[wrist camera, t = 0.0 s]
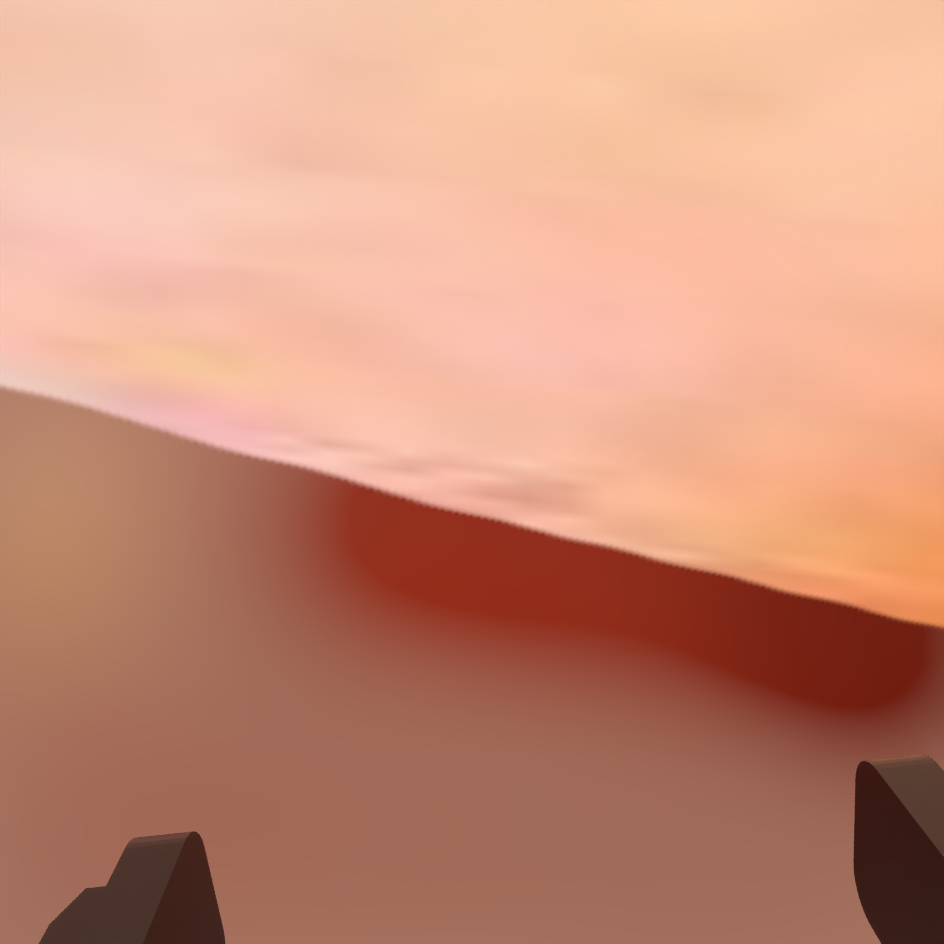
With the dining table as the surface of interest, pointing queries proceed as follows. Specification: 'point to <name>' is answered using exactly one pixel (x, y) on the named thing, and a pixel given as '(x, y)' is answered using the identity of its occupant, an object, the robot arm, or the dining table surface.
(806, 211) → the dining table surface
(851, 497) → the dining table surface
